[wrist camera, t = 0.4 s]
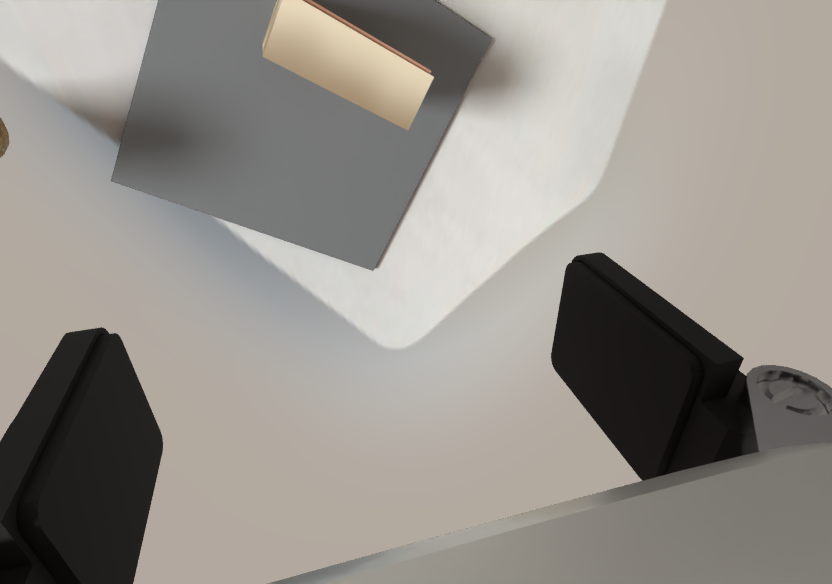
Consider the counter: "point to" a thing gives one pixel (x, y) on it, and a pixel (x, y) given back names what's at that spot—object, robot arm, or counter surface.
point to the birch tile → (345, 60)
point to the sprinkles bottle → (3, 138)
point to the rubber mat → (287, 123)
